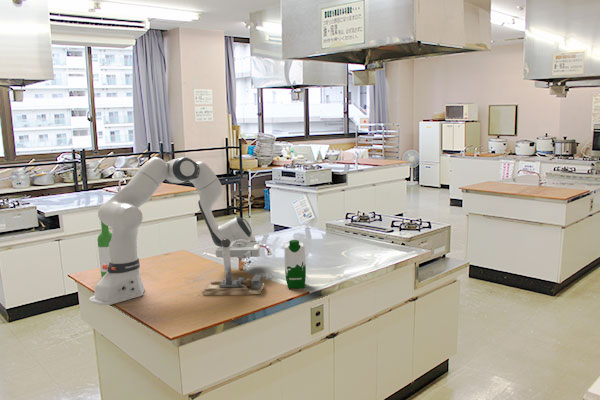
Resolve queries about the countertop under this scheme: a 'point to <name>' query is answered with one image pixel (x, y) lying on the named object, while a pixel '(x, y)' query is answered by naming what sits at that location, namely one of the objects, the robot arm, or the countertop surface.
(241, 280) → the ball-top joystick lever
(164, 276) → the countertop surface
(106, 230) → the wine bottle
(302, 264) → the milk carton
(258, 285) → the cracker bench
